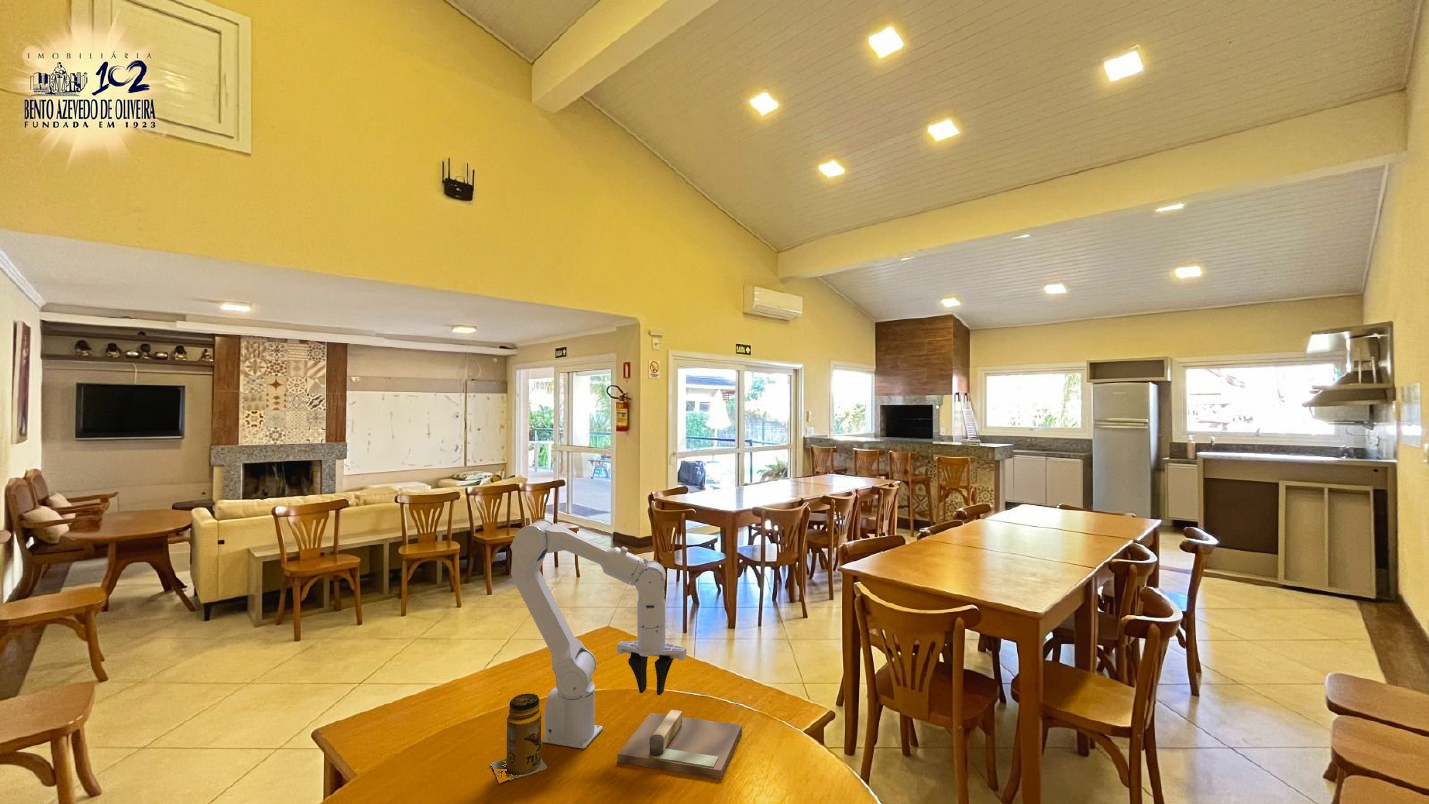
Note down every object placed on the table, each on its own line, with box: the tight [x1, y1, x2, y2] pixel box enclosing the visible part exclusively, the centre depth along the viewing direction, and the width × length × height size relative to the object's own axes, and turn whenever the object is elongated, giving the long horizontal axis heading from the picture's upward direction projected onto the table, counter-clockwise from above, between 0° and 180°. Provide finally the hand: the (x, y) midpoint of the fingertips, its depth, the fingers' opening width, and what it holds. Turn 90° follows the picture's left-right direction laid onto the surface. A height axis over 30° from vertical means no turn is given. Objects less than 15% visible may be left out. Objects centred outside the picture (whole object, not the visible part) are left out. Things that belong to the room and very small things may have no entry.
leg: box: [650, 709, 683, 756], centre depth 108 cm, size 12×3×2 cm, turn 164°
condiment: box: [489, 692, 548, 779], centre depth 102 cm, size 7×8×12 cm
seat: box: [617, 712, 743, 780], centre depth 108 cm, size 20×16×2 cm
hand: (651, 692), depth 113 cm, fingers open, 3 cm apart
